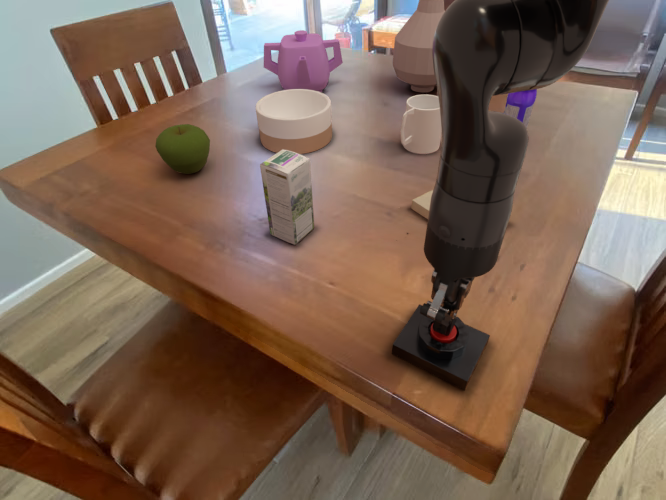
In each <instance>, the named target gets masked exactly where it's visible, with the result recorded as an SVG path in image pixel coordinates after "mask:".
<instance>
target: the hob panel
mask: <svg viewBox="0 0 666 500" xmlns="http://www.w3.org/2000/svg"><path fill="white" fill-rule="evenodd" d="M432 193H433V189H431V190H429V191H428V192H425V193H423V194H422V195H419V196H417V197H415V198H413V199H412V200H411V210H412V211H414V212H416V213H417V214H418V215H420V216H422V217H423V218H425V219H426V220H428V215H429V209H430V202H431V196H432ZM509 222H510V221H509ZM509 222H508V224H509Z"/></svg>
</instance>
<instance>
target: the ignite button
mask: <svg viewBox="0 0 666 500" xmlns="http://www.w3.org/2000/svg"><path fill="white" fill-rule="evenodd" d="M456 334H457V330H456V327H455V326H454V327H453V329H452V331H451V333H450V334H449V336H446V335H443V334H440V333H438V332H436V331H434V329H433V324H432V325H431V329H430V336H431V337H432V338H433V339H434V340H436V341H438V342H440V343H451V342H453V341H455V338H456Z"/></svg>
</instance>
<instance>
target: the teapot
mask: <svg viewBox="0 0 666 500" xmlns="http://www.w3.org/2000/svg"><path fill="white" fill-rule="evenodd" d="M328 48H333V50H332V51H333V57H331V59H329V57H328V52H327V49H328ZM341 50H342V49H341V44H340V40H339V39H338V38H335V39H334V38H333V39H323V38H322V36H321V35H320V34H319V33H316V32H315V33H308V31H307V30H301V29H300V30H295V31H294V33H293V34H285V35H283V36H282V38H281V40H280V42H264V44H263V68H264V69H266V70H267V71H269V72H271V73H273V74H275V75H276V76H277V78H278V81H279V84H280V86H281V88H282V90H290V89H308V90H314V91H318V92H321V93H323V92H324V89H326V87H328V86H327V85H328V83H329V81H330V75H331V72H333V71H334V70H336V69H337V68H338V67H339V66H341V65H342V64H343V63H344V61H343V57H342V55H343V54H342V51H341ZM272 51H274V52H275V51H277V52H278V53H277V61H274V60H273V59H272Z"/></svg>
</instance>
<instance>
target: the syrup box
mask: <svg viewBox="0 0 666 500" xmlns="http://www.w3.org/2000/svg"><path fill="white" fill-rule="evenodd" d="M259 168H260V175H261V182H262V189H263V195H264V201H265V202H264V203H265V208H266V215H267V222H268V228H269V234H270V235H271V236H273V237H275V238H278V239H279V240H281V241H284V242H286V243H289V244H291V245H293V246H296V245H298V244H299V242H301V241H302V240H303V239H304V238H305V237H306V236H307V235H309V233H311V232H312V231H313V229H315V220H314V219H315V218H314V217H315V216H314V202H313V184H312V182H313V181H312V170H311V169H312V168H311V159H310V158H309V157H308V156H305V155H303V154H298V153H295V152H292V151H289V150H284V149H282V150H281V151H280V152H278V153H275V154H274V155H272V156H270V157H269V158H267V159H265V160H264V161H263V162H261V163H260V164H259Z"/></svg>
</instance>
